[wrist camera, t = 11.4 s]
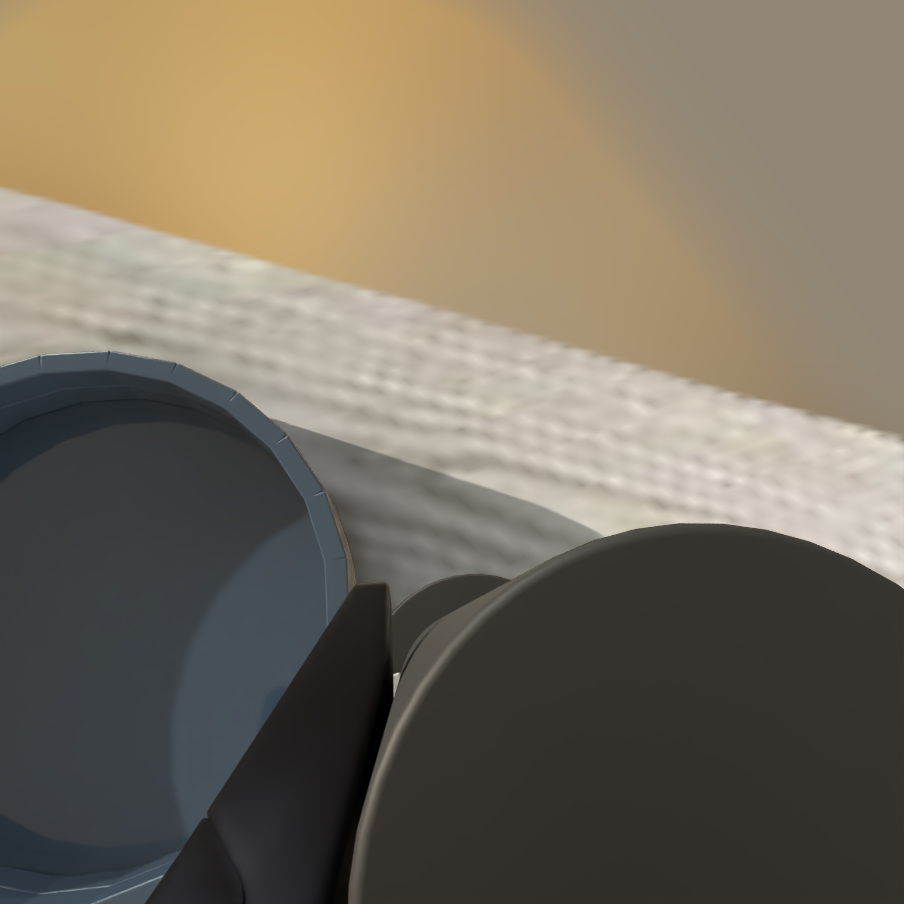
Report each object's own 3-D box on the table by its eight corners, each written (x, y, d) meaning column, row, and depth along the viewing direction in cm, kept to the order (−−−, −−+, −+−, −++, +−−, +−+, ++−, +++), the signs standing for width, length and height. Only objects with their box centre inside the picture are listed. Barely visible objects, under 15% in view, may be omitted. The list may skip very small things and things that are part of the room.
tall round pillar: (575, 536, 16) (1126, 207, 4) (652, 736, 15) (1755, 1208, 3) (294, 632, 15) (-223, 629, 3) (355, 851, 14) (-25, 2316, 2)
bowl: (437, 505, 22) (441, 487, 19) (204, 990, 18) (164, 1058, 16) (37, 315, 23) (-18, 270, 20) (-257, 747, 19) (-376, 768, 16)
